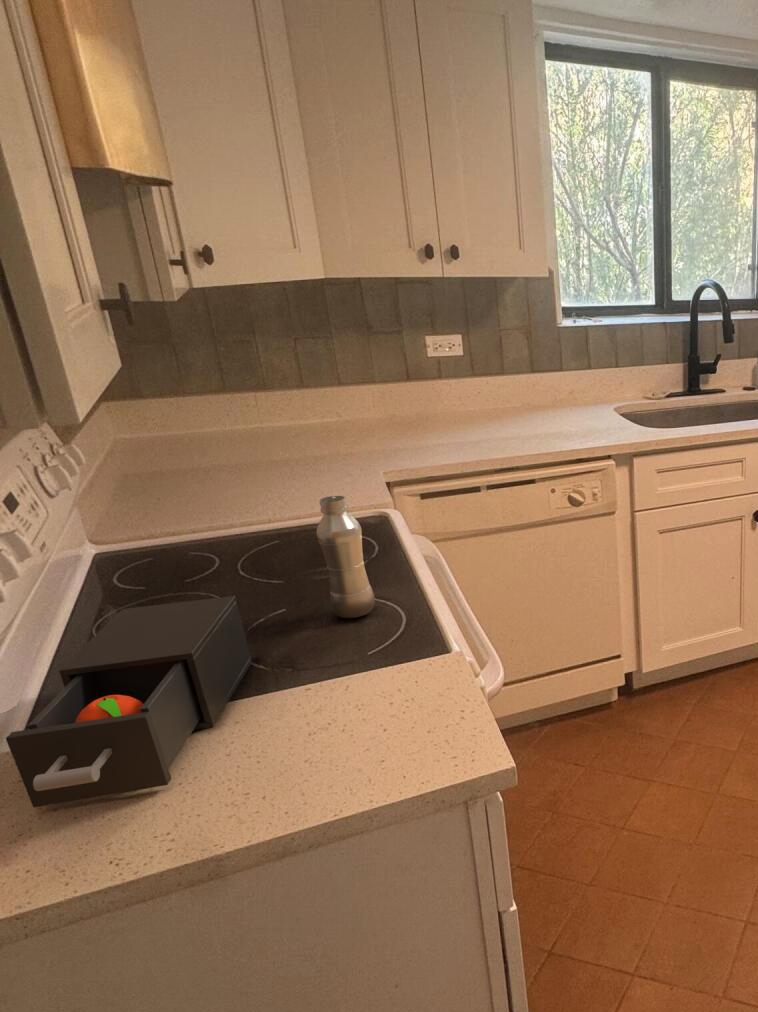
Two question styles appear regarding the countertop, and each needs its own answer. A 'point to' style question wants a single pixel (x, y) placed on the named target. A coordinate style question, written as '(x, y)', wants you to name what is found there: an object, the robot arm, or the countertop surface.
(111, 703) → the clementine
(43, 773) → the open grey drawer
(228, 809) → the countertop surface
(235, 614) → the dark drawer cabinet
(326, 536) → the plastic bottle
